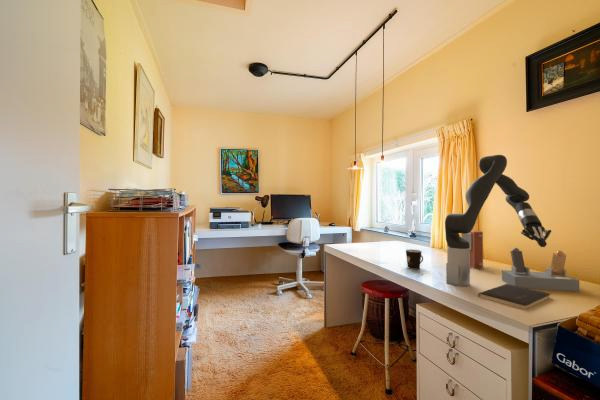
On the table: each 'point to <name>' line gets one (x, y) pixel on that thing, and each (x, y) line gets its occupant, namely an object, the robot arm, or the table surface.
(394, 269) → the table surface
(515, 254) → the black lever
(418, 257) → the coffee mug
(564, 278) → the lever console
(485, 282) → the table surface
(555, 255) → the copper lever
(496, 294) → the hardcover book
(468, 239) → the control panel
